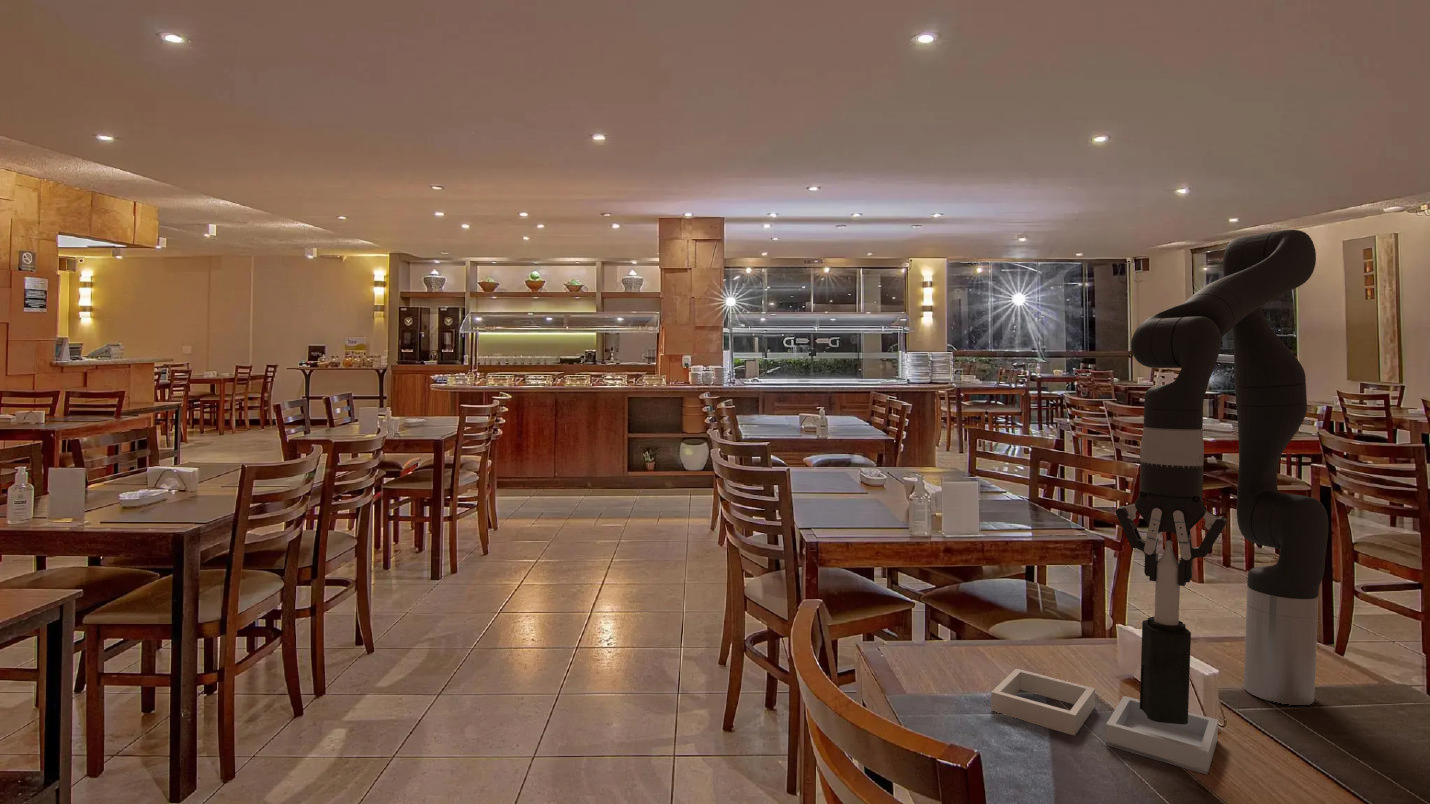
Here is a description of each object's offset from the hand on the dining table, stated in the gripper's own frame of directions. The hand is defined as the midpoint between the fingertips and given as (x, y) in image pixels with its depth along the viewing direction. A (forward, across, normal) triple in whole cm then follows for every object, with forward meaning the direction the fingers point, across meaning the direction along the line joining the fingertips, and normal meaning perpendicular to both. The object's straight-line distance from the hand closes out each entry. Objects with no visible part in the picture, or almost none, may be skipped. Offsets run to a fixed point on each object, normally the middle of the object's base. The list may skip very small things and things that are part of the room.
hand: (1167, 581), depth 103 cm
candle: (+19, 0, 0) cm, 19 cm away
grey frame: (+23, +16, 0) cm, 28 cm away
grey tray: (+23, 0, 0) cm, 23 cm away
